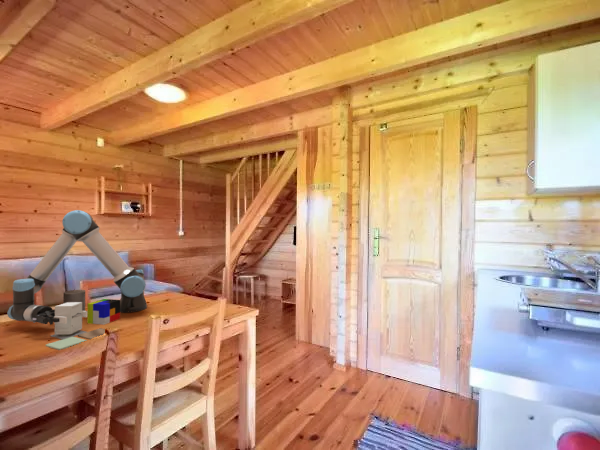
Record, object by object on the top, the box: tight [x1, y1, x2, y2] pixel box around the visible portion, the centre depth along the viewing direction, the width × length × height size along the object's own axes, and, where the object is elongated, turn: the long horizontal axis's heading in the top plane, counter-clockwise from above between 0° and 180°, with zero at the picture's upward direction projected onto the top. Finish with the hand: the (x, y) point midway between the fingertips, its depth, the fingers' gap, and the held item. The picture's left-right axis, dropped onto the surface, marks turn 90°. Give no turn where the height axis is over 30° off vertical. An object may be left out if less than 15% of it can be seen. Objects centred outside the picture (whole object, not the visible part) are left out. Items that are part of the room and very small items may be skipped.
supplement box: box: [54, 302, 83, 335], centre depth 137 cm, size 7×7×13 cm
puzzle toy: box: [86, 298, 121, 325], centre depth 156 cm, size 10×10×10 cm
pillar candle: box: [62, 288, 86, 311], centre depth 163 cm, size 10×10×15 cm
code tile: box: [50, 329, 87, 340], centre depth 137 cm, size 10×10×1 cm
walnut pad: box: [77, 327, 106, 340], centre depth 136 cm, size 10×10×1 cm
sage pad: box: [45, 336, 88, 351], centre depth 125 cm, size 10×10×1 cm
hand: (76, 317), depth 135 cm, fingers closed on supplement box, 9 cm apart
